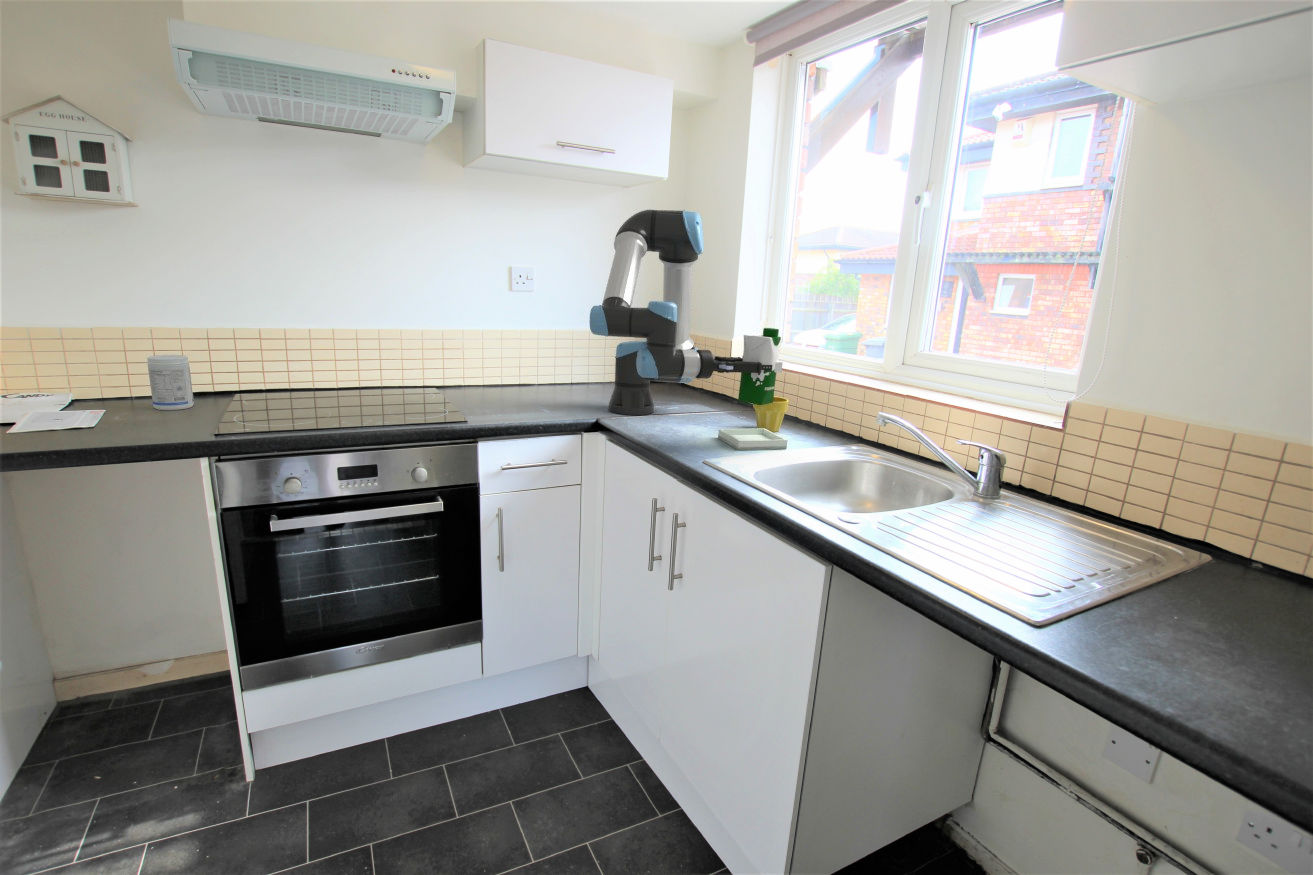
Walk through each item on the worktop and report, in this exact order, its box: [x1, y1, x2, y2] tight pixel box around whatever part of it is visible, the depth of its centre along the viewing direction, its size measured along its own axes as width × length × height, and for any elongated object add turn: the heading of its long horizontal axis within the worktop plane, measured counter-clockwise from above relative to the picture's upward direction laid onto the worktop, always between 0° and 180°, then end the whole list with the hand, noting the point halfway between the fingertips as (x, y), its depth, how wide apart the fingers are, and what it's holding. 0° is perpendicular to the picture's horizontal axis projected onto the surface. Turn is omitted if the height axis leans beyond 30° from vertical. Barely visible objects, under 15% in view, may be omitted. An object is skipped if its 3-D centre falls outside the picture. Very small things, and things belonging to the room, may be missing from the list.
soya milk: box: [737, 327, 783, 405], centre depth 175 cm, size 9×9×20 cm
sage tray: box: [717, 427, 788, 451], centre depth 181 cm, size 14×14×2 cm
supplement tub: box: [146, 354, 195, 411], centre depth 186 cm, size 10×10×15 cm
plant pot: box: [752, 395, 789, 433], centre depth 198 cm, size 10×10×10 cm
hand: (774, 365), depth 177 cm, fingers closed on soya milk, 7 cm apart
